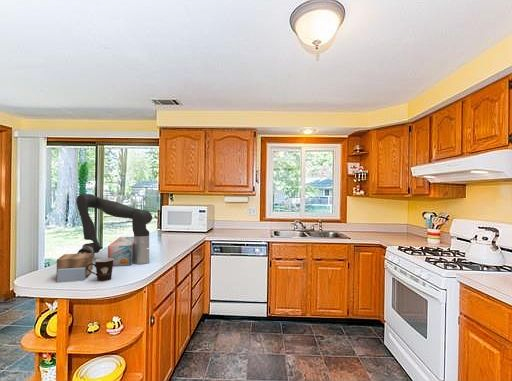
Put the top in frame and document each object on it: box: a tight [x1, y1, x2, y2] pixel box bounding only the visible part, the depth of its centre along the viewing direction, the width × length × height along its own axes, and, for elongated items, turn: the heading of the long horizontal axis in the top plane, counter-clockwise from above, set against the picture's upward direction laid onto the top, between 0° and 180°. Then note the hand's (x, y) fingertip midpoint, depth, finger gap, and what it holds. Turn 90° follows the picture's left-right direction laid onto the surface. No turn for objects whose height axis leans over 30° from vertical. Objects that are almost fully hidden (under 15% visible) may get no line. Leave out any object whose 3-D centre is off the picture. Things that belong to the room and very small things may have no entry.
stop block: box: [56, 267, 86, 283], centre depth 160 cm, size 12×2×6 cm, turn 108°
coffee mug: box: [87, 257, 114, 282], centre depth 162 cm, size 12×9×10 cm
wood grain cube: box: [56, 253, 94, 277], centre depth 168 cm, size 14×14×9 cm
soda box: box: [107, 236, 134, 267], centre depth 210 cm, size 41×14×13 cm, turn 14°
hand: (78, 259), depth 175 cm, fingers closed
